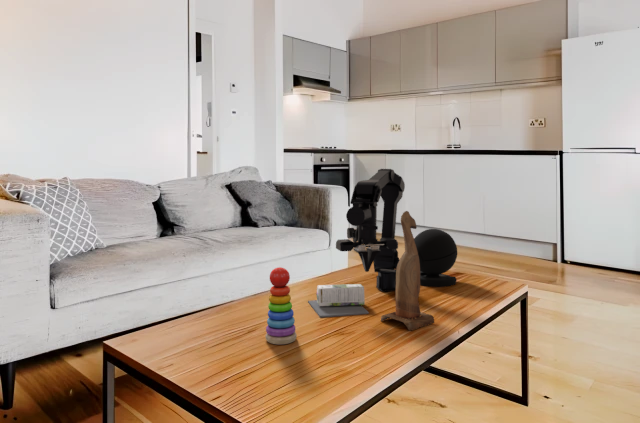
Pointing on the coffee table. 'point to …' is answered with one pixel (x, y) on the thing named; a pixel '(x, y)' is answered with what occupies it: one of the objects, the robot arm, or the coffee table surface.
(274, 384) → the coffee table surface
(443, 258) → the webcam
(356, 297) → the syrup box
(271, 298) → the stacking toy
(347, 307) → the mat
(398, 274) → the bird sculpture
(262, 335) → the coffee table surface
